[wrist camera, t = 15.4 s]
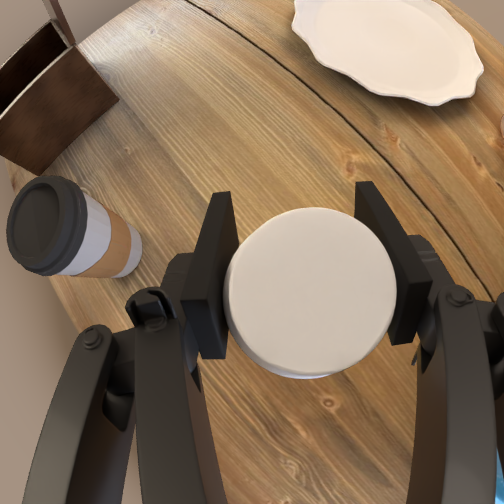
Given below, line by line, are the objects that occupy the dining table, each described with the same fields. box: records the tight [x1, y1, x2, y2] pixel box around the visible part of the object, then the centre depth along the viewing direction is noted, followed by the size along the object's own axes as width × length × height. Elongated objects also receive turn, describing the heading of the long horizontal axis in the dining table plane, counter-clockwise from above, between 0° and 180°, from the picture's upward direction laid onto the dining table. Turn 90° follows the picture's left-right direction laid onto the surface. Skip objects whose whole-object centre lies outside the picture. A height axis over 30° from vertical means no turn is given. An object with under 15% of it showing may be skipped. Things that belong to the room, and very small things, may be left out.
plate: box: [291, 0, 484, 107], centre depth 35 cm, size 29×29×2 cm
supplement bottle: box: [223, 207, 397, 379], centre depth 12 cm, size 5×5×10 cm
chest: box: [0, 19, 119, 176], centre depth 34 cm, size 17×14×13 cm
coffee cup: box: [6, 176, 142, 278], centre depth 28 cm, size 8×8×15 cm
